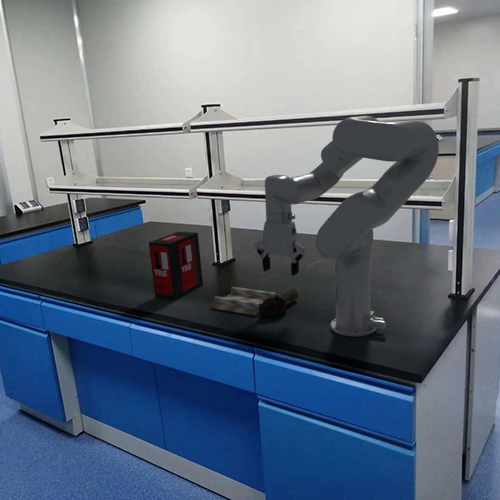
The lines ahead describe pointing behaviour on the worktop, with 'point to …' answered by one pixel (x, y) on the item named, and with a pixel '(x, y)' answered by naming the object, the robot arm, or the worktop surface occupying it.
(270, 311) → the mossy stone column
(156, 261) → the cleaning product box
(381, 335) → the worktop surface
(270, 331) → the worktop surface
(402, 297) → the worktop surface
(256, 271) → the worktop surface
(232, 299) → the pipe cradle
